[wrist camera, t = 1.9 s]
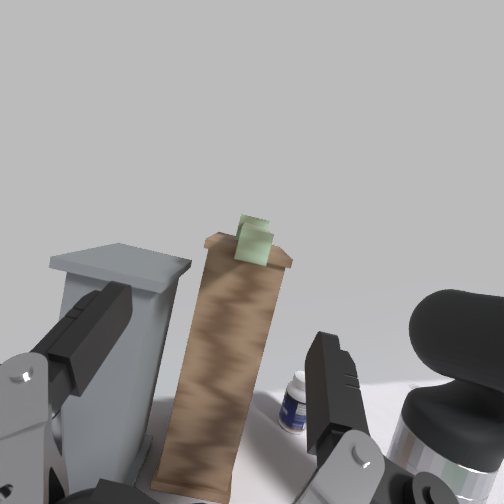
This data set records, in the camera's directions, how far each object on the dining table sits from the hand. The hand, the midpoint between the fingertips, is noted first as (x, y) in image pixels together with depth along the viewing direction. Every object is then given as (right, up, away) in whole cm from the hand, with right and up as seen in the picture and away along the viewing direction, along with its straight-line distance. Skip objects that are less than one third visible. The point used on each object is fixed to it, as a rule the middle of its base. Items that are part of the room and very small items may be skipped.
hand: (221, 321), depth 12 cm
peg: (+1, +3, +21) cm, 22 cm away
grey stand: (-18, -25, +23) cm, 38 cm away
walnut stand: (-7, -27, +30) cm, 41 cm away
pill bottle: (+9, -30, +41) cm, 51 cm away
